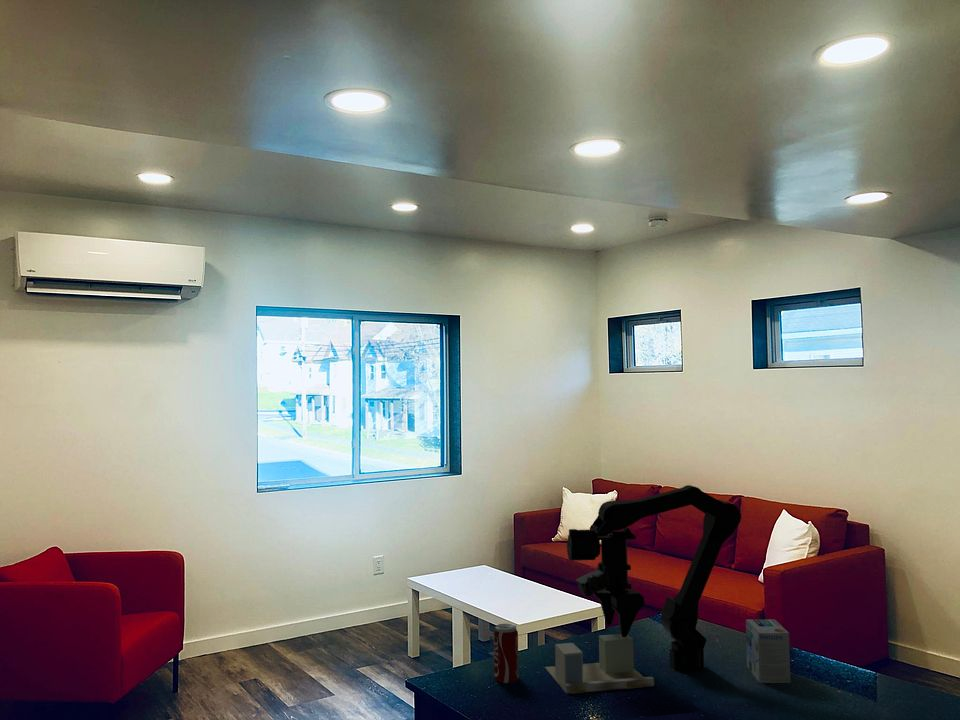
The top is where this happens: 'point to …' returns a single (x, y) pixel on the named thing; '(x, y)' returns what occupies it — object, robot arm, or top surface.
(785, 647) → the light bulb box
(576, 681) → the cream carton
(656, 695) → the top surface
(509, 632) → the soda can
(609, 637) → the sage carton
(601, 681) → the beige shallow tray
